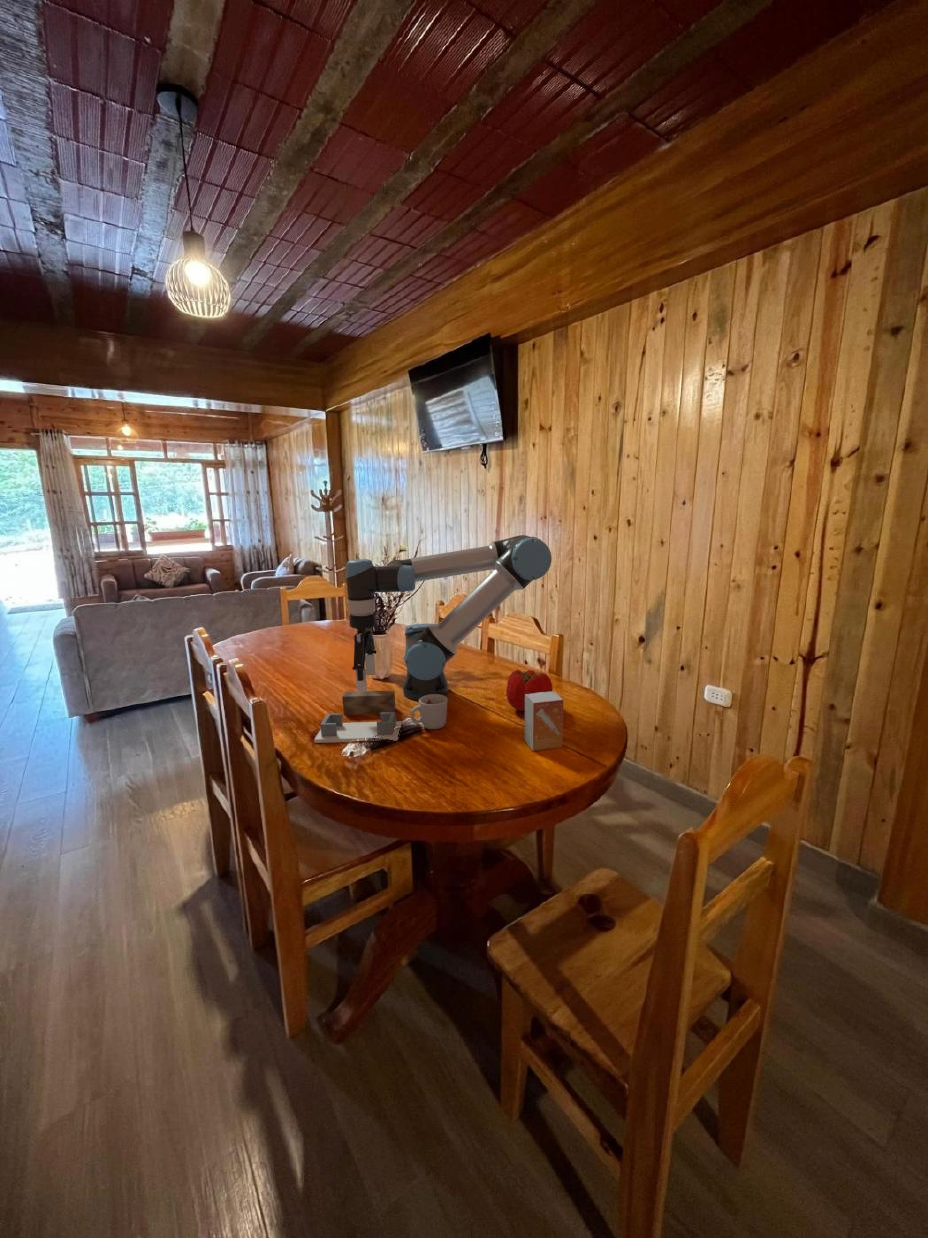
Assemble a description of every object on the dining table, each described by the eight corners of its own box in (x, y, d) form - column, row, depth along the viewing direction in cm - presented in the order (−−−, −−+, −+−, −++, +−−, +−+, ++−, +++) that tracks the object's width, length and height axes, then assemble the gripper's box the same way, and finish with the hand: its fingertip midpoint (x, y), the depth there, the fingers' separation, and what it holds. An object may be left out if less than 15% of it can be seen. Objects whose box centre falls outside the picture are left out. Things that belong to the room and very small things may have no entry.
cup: (417, 737, 135) (415, 709, 133) (406, 726, 141) (405, 699, 140) (453, 727, 139) (452, 701, 138) (441, 717, 146) (440, 691, 144)
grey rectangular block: (395, 708, 154) (394, 690, 153) (393, 714, 150) (392, 695, 149) (346, 710, 154) (345, 691, 153) (343, 715, 150) (342, 696, 149)
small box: (532, 752, 125) (533, 703, 122) (524, 740, 131) (524, 693, 128) (563, 747, 126) (564, 699, 123) (553, 736, 132) (553, 690, 130)
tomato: (560, 706, 152) (560, 669, 149) (532, 722, 141) (532, 683, 139) (524, 696, 160) (524, 661, 158) (496, 710, 150) (495, 673, 148)
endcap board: (402, 724, 142) (401, 709, 141) (397, 740, 133) (396, 725, 132) (324, 726, 143) (323, 711, 142) (314, 742, 133) (313, 727, 132)
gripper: (358, 604, 158) (362, 669, 162) (338, 623, 133) (344, 698, 138) (381, 604, 158) (385, 668, 162) (366, 622, 133) (371, 697, 138)
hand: (366, 682), depth 150 cm, fingers open, 13 cm apart
